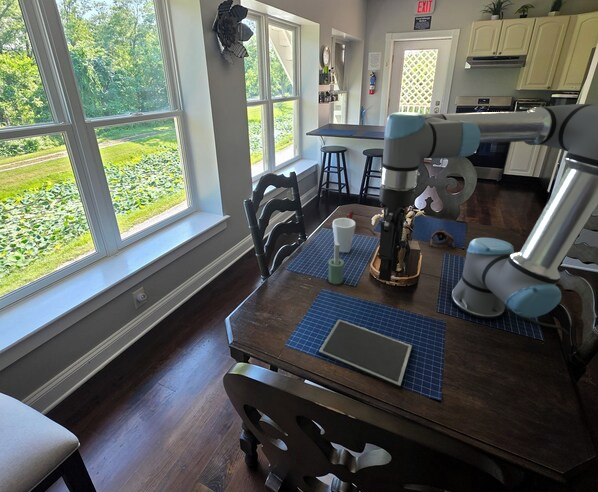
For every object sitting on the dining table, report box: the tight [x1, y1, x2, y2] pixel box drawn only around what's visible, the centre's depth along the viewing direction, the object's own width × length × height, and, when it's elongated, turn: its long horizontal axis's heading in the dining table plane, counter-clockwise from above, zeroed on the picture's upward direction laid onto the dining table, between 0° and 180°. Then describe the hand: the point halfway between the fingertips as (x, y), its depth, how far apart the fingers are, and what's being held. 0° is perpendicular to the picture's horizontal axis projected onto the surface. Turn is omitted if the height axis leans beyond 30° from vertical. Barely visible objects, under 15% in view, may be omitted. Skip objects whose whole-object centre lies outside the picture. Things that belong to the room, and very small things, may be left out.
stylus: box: [333, 242, 340, 265], centre depth 115 cm, size 2×2×15 cm
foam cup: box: [331, 217, 356, 254], centre depth 136 cm, size 10×9×13 cm
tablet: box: [318, 318, 413, 389], centre depth 88 cm, size 22×14×1 cm, turn 61°
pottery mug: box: [429, 228, 455, 249], centre depth 140 cm, size 12×10×8 cm
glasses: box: [345, 211, 382, 236], centre depth 159 cm, size 14×16×5 cm
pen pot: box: [327, 257, 345, 285], centre depth 117 cm, size 5×5×8 cm
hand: (387, 274), depth 80 cm, fingers open, 5 cm apart
